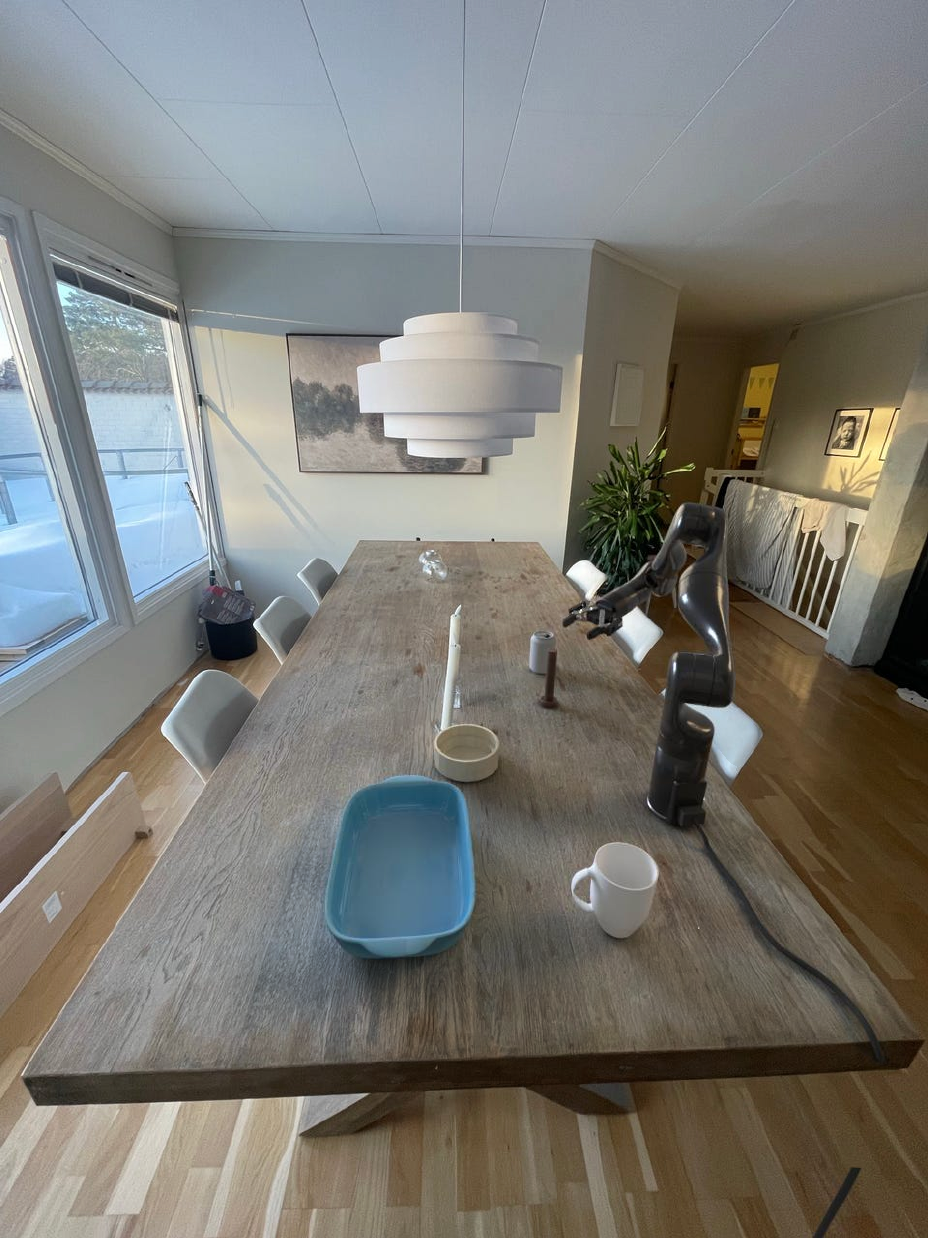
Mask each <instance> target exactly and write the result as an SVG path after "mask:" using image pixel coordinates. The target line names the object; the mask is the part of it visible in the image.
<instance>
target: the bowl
mask: <svg viewBox="0 0 928 1238" xmlns="http://www.w3.org/2000/svg"><path fill="white" fill-rule="evenodd" d="M499 760H500V741H499V738H498V736H497V735H496V734H495V732H494V731H492V730H491V729H489V728H487V727H485V726H482V725H478V724H473V723H471V724H470V723H461V724H454V725H450V726H447V727H446V728H444V729H441V730H440V731H439V732H438V733H437V734H436V736H435V739H434V740H433V762H434V767H435V769H436V770H437V772H438V773H439V774H441V775H442V776H443V777H445V778H447V779H450V780H453V781H456V782H465V783H470V782H471V783H472V782H478V781H481V780H484V779H487V778H489V777H490V776H491V775H493V774H494V773H495V771H496V770H497V769H498V767H499V762H500V761H499Z"/></svg>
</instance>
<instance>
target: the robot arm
mask: <svg viewBox="0 0 928 1238" xmlns="http://www.w3.org/2000/svg"><path fill="white" fill-rule="evenodd" d="M728 531H729V517H728V513H727V511H726V510H725V509H723V508H721V507H718V506H713V505H709V504H704V503H698V502H693V501H692V502H691V501H687V502H683V503H682V504H680V506H679V507H678V508H677V510H676V511H675V513H674V515H673V517H672V520H671V522H670V524H669V527H668V529H667V532H666V535H665V537H664V540H663V543H662V546H661V548H660V550H659V552H658V553H657V554H656V556H655V557H654V559H653V560H649V561H647V562H645V563H644V564H643V565H642V566H641V568H640V569H639V571H638V572H637V574H635V576H633V578H631V579H630V580H629V581H627V582H625V583H624V584H622V585H620V586H618V587H616V588H614V589H612V590H610V591H609V592H607V593H606V594H604V595H603V596H601V597H599V598H598V599H597V601H596V602H595V603H594V604H591V605H588V604H587V601H585V600H583V601H580V602H578V603H577V604H575V605H573V606H571V607H570V608H568V610H567V611H568V616H566V617H564V618H563V619H562V622H561V623H562V627H563V628H565V629H566V628H568V627H570V626H571V625H572V624H575V622H583V623H586V622H587V623H588V622H589V623H591V624H593V625H595V627H593V628H591V629H590V630H589V631H587V632H586V639H587V640H588V641H591V640H594V639H596V638H597V637H599V636H602V635H606V637H611V636H612V635H614V634H615V633H617V631H619V630H620V629H622V627H624V626H623V625H624V623H623V617H625V616H627V615H628V614H630V613H631V612H632V611H633V610H635V609H636V608H637V607H639V606H640V605H641V604H643V603H644V602H646V601H648V600H649V598H651V594H653V595H654V596H656V597H659V598H660V597H665V596H668V595H669V594H671V593H672V592H673V590H674V589H675V588H676V586H678V587H677V606H678V610H679V612H680V614H681V616H682V617H683V619H684V620H685V622H687V624H688V625H689V626H690V627H691V629H692V630H693V631H694V633H695V634H697V636H698V637H699V638H700V640H701V641H702V643H703V644H704V647H705V649H706V651H707V653H700V652H693V651H687V650H676V651H675V652H674V653H672V655H671V657H670V659H669V661H668V665H667V671H666V682H665V692H664V700H663V706H662V713H661V719H660V724H659V730H658V735H657V740H656V746H655V753H654V759H653V765H652V770H651V776H650V782H649V788H648V794H647V797H646V805H647V808H648V810H649V811H650V812H651V813H652V814H653V815H654V816H656V817H658V818H659V819H660V820H663V821H664V822H666V823H667V824H668V826H675V825H680V827H681V828H683V827H684V828H685V827H692V826H695V828H696V831H697V832H698V833H699V834H700V837H701V840H702V842H703V844H704V848H705V849H706V852H707V853H708V855H709V856H710V858H711V859H712V861H713V863H714V864H715V865H716V867H717V868H718V869H719V870H720V872H721V873H722V874H723V875H724V876H725V878H726V879H727V881H728V882H729V884H731V885H732V887H733V888H734V890H735V891H736V893H737V894H738V896H739V897H740V899H741V901H742V903H743V904H744V907H745V908H746V910H747V912H748V915H749V917H750V918H751V919H752V922H753V923H754V924H755V926H756V927H757V929H758V930H759V931H760V933H761V934H762V935H763V937H764V938H765V939H766V940H767V941H768V942H769V943H770V944H771V945H772V946H773V947H774V948H775V949H776V950H778V952H780V953H781V954H782V955H783V956H785V957H786V958H788V959H789V960H790V961H792V962H793V963H795V964H796V965H798V966H800V967H801V968H803V969H804V970H806V971H807V972H808V973H810V974H811V975H813V976H814V977H815V978H817V979H818V980H820V981H821V982H822V983H823V984H825V986H827V987H828V988H829V989H830V990H832V992H833V993H834V994H835V995H837V997H838V998H839V999H840V1000H841V1001H842V1002H843V1003H844V1004H845V1005H846V1006H847V1008H848V1009H850V1011H851V1012H852V1013H853V1014H854V1016H855V1017H856V1018H857V1019H858V1021H859V1022H860V1024H861V1026H862V1027H863V1029H864V1032H865V1034H866V1035H867V1037H868V1040H869V1041H870V1044H871V1047H872V1049H873V1052H874V1053H875V1054H874V1055H875V1057H876V1059H877V1061H878V1062H880V1063H882V1064H885V1063H886V1059H885V1058H886V1057H885V1055H884V1052H883V1049H882V1047H881V1044H880V1041H879V1039H878V1037H877V1035H876V1033H875V1031H874V1029H873V1027H872V1026H871V1024H870V1023H869V1021H868V1020H867V1018H866V1016H865V1015H864V1014H863V1012H862V1011H861V1009H859V1008H858V1007H857V1005H856V1004H855V1003H854V1002H853V1001H852V1000H851V999H850V998H849V997H848V996H847V995H846V993H844V991H843V990H841V988H840V987H838V985H837V984H836V983H834V982H833V981H832V980H831V979H830V978H829V977H827V975H825V974H824V973H822V972H821V971H819V970H818V969H817V968H815V967H813V966H812V965H810V964H809V963H808V962H806V961H804V960H803V959H801V958H800V957H799V956H797V955H795V954H794V953H792V952H791V951H790V950H788V949H787V948H785V947H784V946H783V945H782V944H781V943H779V942H778V941H777V940H776V938H774V936H772V934H771V933H770V932H769V931H768V930H767V929H766V927H765V926H764V924H762V922H761V921H760V919H759V917H758V916H757V914H756V912H755V910H754V908H753V907H752V905H751V903H750V901H749V899H748V897H747V896H746V894H745V892H744V891H743V889H742V888H741V886H740V885H739V883H738V882H737V881H736V879H734V876H733V875H731V874H730V872H729V871H728V870H727V869H726V868H725V866H724V865H723V863H721V861H720V860H719V858H718V857H717V856H716V854H715V852H714V851H713V849H712V846H711V845H710V841H709V839H708V836H707V835H706V832H705V831H704V829H703V827H702V826H701V825H704V824H705V819H706V815H707V811H706V810H705V809H704V808H703V804H704V801H705V795H706V790H707V786H708V781H707V780H706V774H707V769H708V764H709V760H710V755H711V752H712V751H711V750H712V746H713V741H714V737H715V732H716V731H715V730H716V729H715V725H714V723H713V721H712V720H711V719H710V718H709V717H708V716H706V715H705V714H704V713H702V712H700V711H698V710H696V709H694V708H692V707H690V706H689V705H693V706H701V707H705V708H706V707H707V708H713V709H714V708H715V709H723V708H727V707H729V706H730V705H731V703H732V702H733V699H734V696H735V692H736V669H735V662H734V656H733V655H734V654H733V648H732V643H731V635H730V619H729V618H730V616H729V614H730V612H729V611H730V604H729V602H730V600H729V599H730V598H729V595H730V593H729V584H728V583H729V581H728V572H727V547H728V546H727V544H728V534H729V533H728ZM684 544H686V545H689V546H690V545H691V546H696V547H699V548H700V547H701V548H703V549H704V550H705V552H704V553H703V554H702V555H701V556H700V557H698V558H697V559H696V560H694V561H693V562H692V563H690V565H689V566H688V567H687V568H685V569H684V570H683V572H682V573H681V575H680V577H679V572H680V571H681V570H682V569H683V568H684V566H685V564H686V562H687V551H686V548H685V545H684ZM678 577H679V579H678ZM677 582H678V585H677ZM585 614H586V615H585ZM585 616H586V617H585ZM861 1170H862V1167H857V1166H856V1167H853V1166H850V1169H849V1171H848V1172H847V1175H846V1176H845V1178H844V1180H843V1182H842V1184H841V1185H840V1187H839V1189H838V1191H837V1193H836V1194H835V1197H834V1198H833V1200H832V1202H831V1204H830V1205H829V1207H828V1209H827V1210H826V1212H825V1214H824V1216H823V1218H822V1220H821V1221H820V1223H819V1225H818V1227H817V1229H816V1231H815V1232H814V1234H813V1237H812V1238H824V1237H825V1235H826V1233H827V1231H828V1230H829V1228H830V1227H831V1225H832V1223H833V1221H834V1219H835V1218H836V1216H837V1215H838V1212H839V1210H840V1209H841V1207H842V1205H843V1204H844V1203H845V1200H846V1199H847V1197H848V1196H849V1194H850V1191H851V1190H852V1188H853V1186H854V1184H855V1182H856V1181H857V1178H858V1177H859V1175H860V1173H861Z"/></svg>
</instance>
